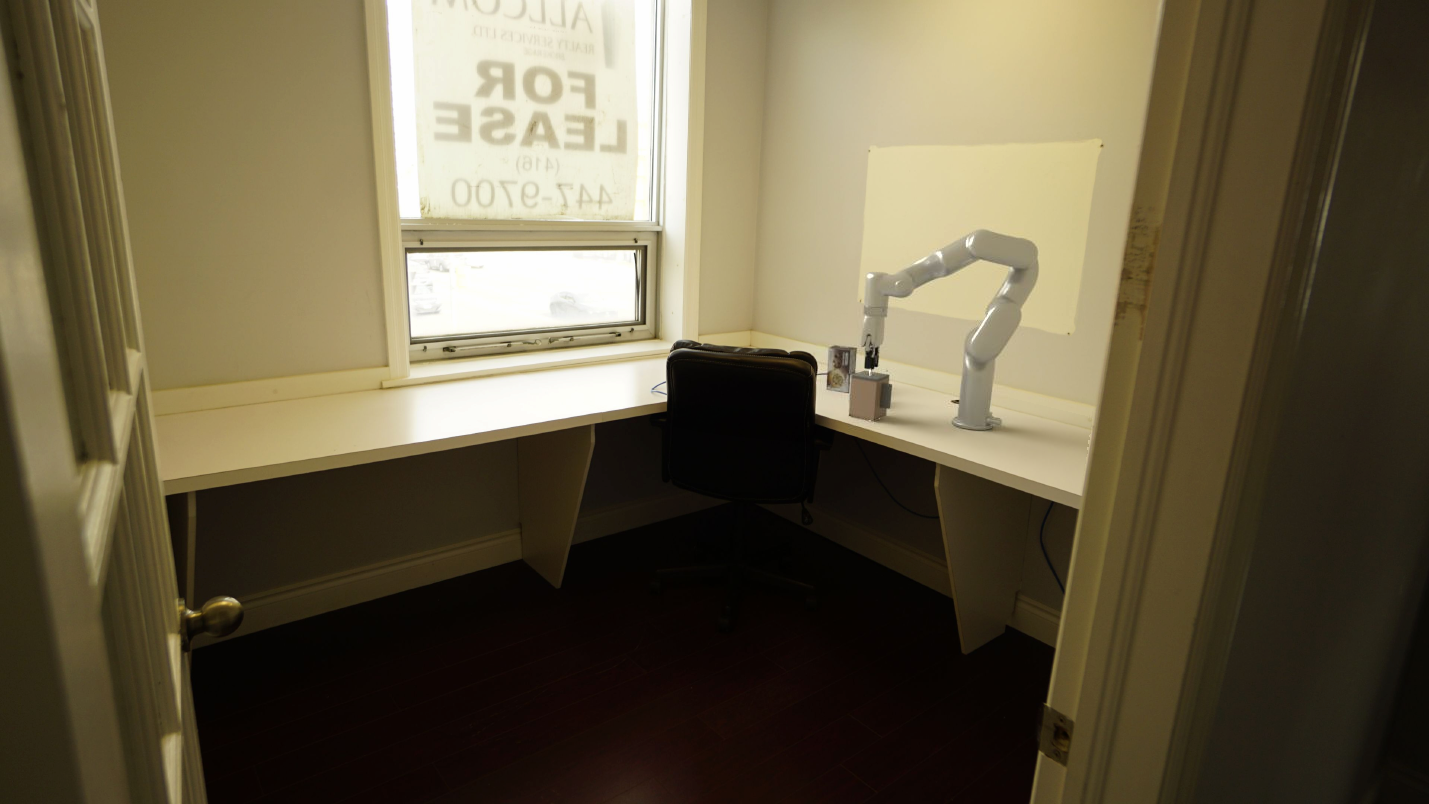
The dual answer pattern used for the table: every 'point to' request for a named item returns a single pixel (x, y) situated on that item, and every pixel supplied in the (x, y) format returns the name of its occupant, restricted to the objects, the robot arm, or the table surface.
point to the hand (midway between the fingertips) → (871, 367)
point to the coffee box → (840, 367)
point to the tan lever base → (869, 395)
